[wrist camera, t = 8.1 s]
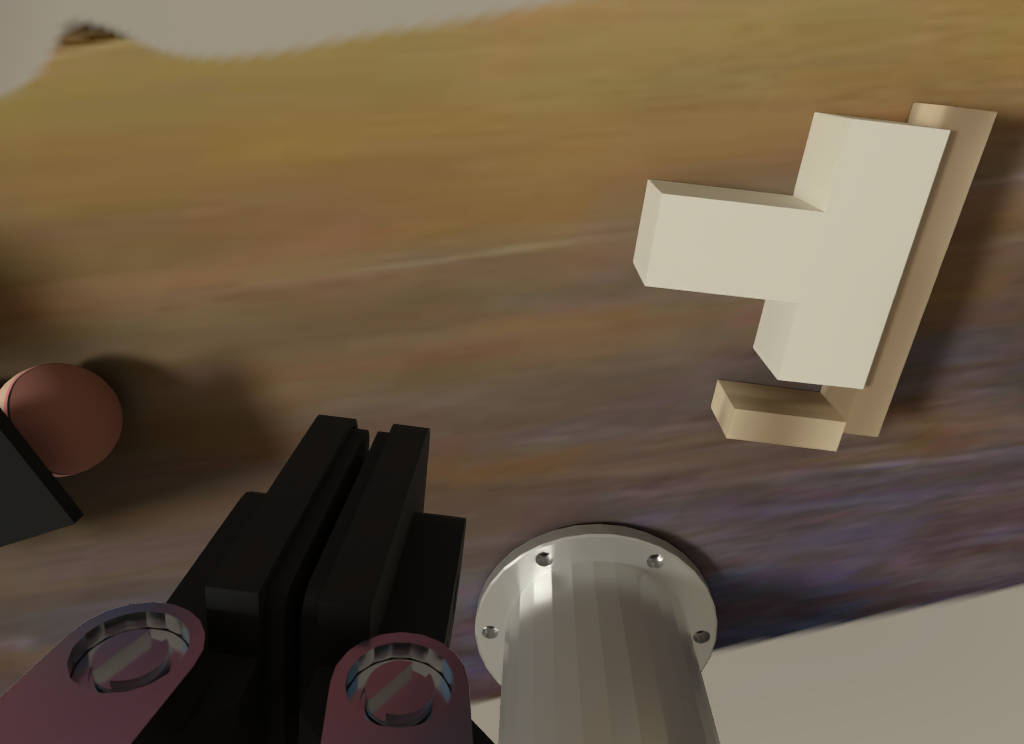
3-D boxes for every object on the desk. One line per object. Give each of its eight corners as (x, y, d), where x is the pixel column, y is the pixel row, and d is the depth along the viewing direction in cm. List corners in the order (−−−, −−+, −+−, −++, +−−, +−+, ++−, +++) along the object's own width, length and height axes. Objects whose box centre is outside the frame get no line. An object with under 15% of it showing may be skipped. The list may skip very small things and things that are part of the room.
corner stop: (951, 107, 28) (997, 112, 25) (843, 423, 33) (870, 455, 30) (793, 86, 28) (821, 89, 25) (710, 406, 33) (726, 438, 30)
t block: (902, 122, 28) (950, 130, 25) (829, 356, 32) (863, 389, 29) (663, 94, 28) (680, 98, 25) (620, 333, 32) (630, 363, 29)
